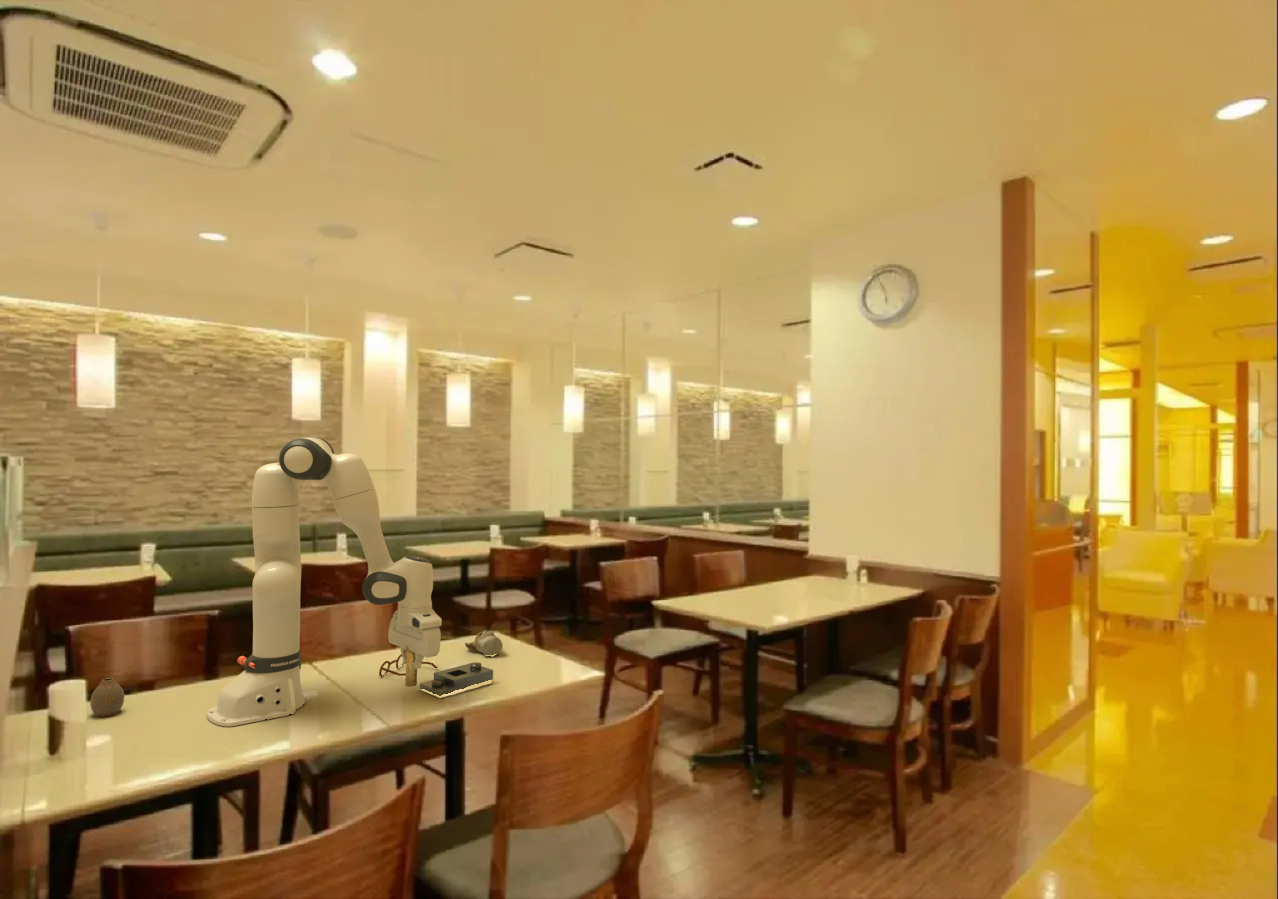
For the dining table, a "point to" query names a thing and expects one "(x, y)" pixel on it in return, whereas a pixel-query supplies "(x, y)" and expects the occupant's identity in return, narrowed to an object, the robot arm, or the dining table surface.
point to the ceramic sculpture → (486, 643)
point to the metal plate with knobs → (457, 678)
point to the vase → (107, 698)
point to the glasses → (397, 667)
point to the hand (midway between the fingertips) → (411, 666)
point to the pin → (410, 669)
